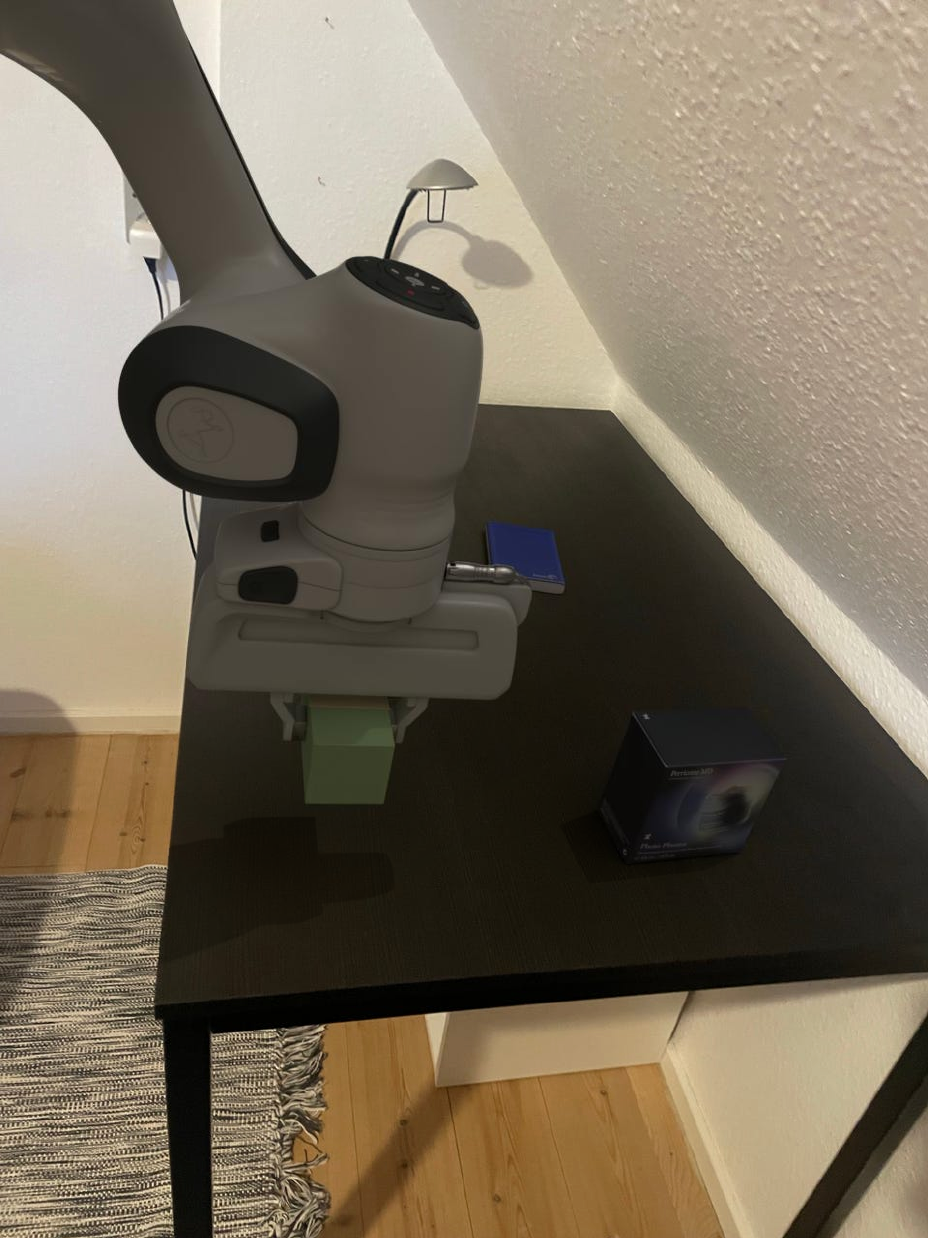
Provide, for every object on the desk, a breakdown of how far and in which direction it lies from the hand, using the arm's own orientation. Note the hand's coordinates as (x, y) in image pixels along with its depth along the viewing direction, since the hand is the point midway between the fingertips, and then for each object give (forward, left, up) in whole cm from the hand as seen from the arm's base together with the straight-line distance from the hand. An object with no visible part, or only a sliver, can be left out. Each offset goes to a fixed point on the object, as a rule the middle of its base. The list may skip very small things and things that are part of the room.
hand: (341, 736), depth 62 cm
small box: (+27, +1, -11) cm, 30 cm away
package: (0, 0, -2) cm, 2 cm away
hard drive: (+25, +43, -11) cm, 51 cm away
